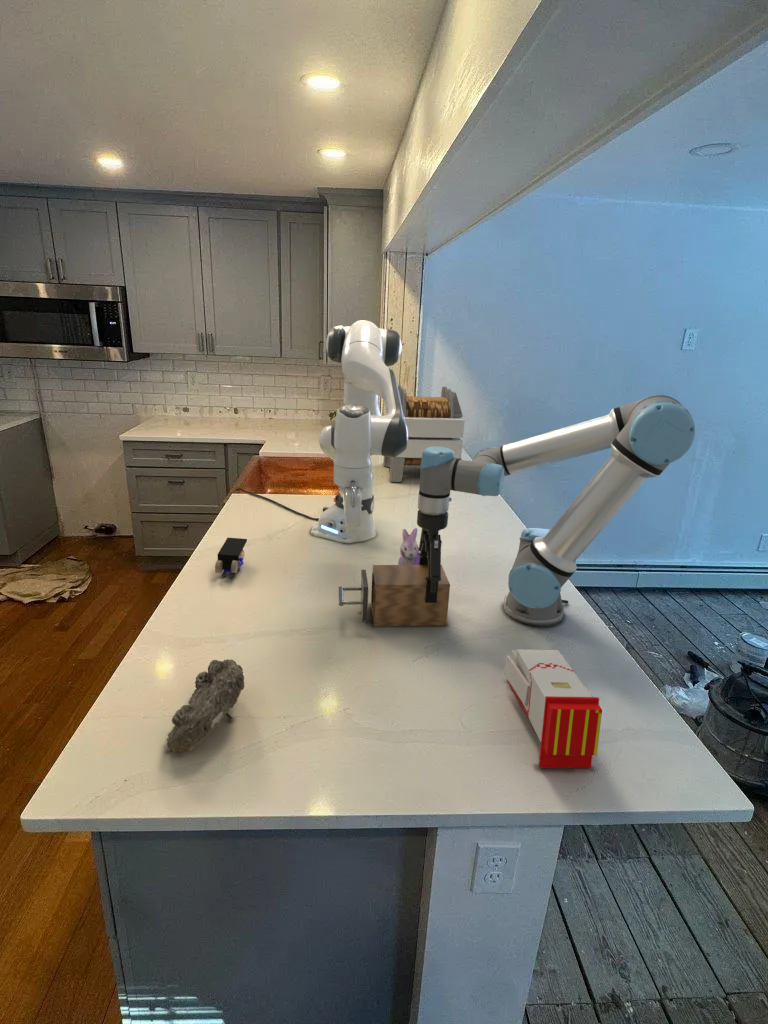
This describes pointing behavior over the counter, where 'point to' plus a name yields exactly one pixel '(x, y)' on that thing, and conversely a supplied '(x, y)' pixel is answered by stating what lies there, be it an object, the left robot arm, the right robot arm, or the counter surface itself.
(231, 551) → the figurine character
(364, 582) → the drawer
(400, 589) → the cabinet
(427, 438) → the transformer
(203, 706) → the fossil
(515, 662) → the toy
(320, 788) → the counter surface
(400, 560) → the figurine
